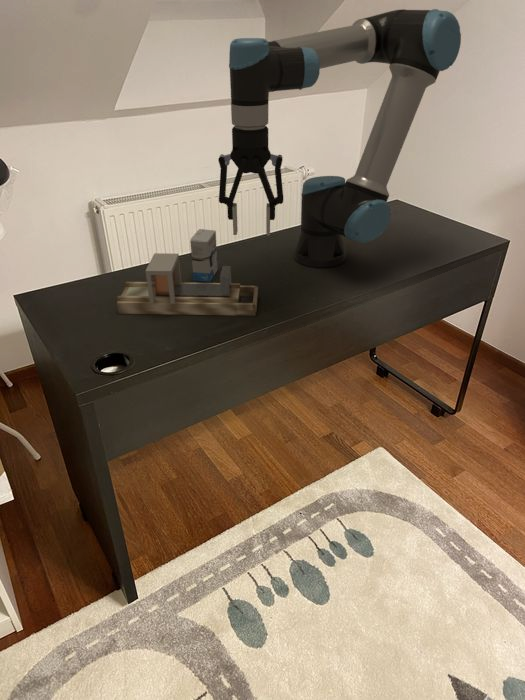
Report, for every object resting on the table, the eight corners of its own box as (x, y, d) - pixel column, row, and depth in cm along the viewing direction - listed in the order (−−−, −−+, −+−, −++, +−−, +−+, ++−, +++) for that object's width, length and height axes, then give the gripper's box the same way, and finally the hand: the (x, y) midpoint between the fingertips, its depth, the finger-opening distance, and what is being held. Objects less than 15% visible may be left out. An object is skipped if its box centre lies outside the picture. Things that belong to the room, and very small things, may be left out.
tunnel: (181, 284, 134) (178, 253, 129) (174, 303, 126) (171, 271, 121) (158, 284, 134) (154, 253, 129) (149, 303, 126) (145, 270, 121)
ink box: (210, 282, 142) (207, 241, 135) (192, 281, 142) (189, 240, 136) (218, 269, 148) (216, 229, 142) (202, 268, 149) (199, 228, 143)
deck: (257, 296, 135) (257, 282, 133) (256, 315, 127) (255, 301, 124) (129, 294, 136) (126, 280, 134) (118, 313, 128) (116, 298, 126)
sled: (231, 287, 132) (230, 266, 128) (229, 299, 127) (228, 276, 123) (160, 286, 132) (157, 265, 129) (155, 298, 127) (152, 275, 124)
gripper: (298, 122, 110) (294, 227, 123) (204, 122, 111) (210, 226, 124) (298, 129, 104) (295, 239, 117) (199, 129, 105) (206, 238, 117)
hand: (251, 232), depth 120 cm, fingers open, 7 cm apart
